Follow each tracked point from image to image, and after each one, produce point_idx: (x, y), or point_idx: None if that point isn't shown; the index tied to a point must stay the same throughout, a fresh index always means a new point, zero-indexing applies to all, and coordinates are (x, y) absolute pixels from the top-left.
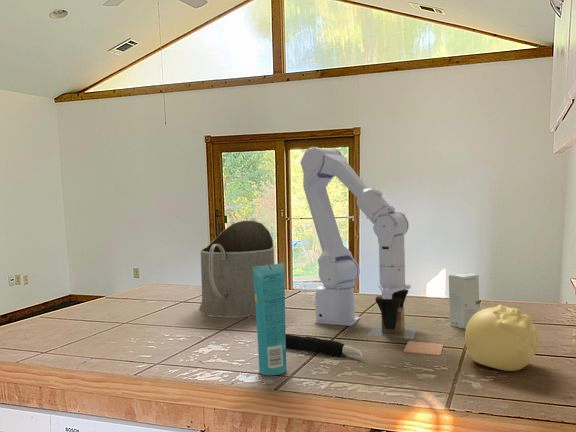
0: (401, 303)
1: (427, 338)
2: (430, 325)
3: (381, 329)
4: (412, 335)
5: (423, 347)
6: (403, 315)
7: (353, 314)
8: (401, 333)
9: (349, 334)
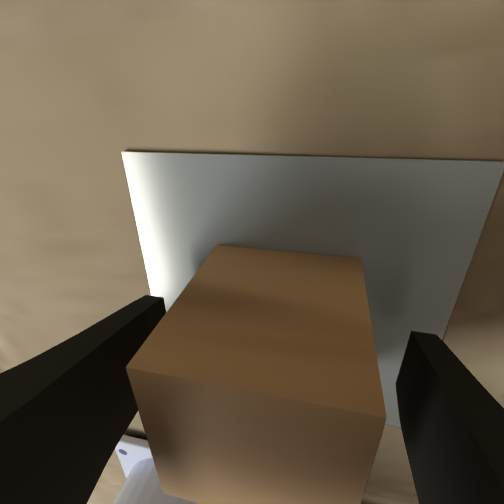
0: (42, 409)
1: (455, 10)
2: (18, 59)
3: None
4: (385, 174)
5: None
6: (213, 318)
7: (176, 499)
8: (359, 260)
9: (394, 481)
